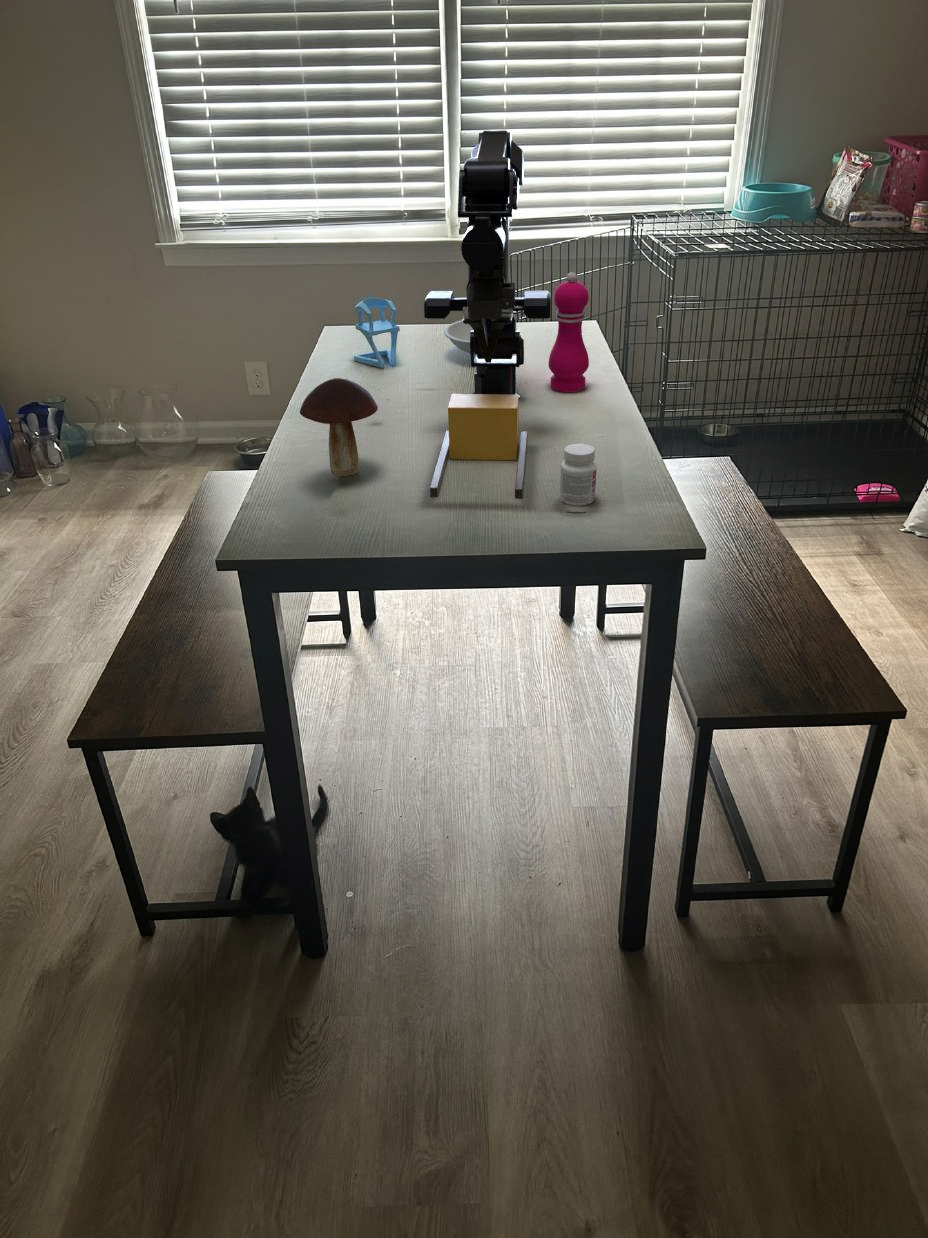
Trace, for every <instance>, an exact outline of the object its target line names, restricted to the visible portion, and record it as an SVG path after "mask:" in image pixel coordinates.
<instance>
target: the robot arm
mask: <svg viewBox="0 0 928 1238" xmlns="http://www.w3.org/2000/svg"><path fill="white" fill-rule="evenodd" d="M463 163H464V164H463V169H459V172H458V191H457V192H458V193H457V218H458V219H460V218H462V219H467V218H468V221H467V228H466V229H467V230H466V232H465V233H464V235H463V238H462V242H461V244H460V246H461V247H460V251H461V255H462V258H463V261H465V263H466V265H467V269H468V270H467V273H468V275H467V276H468V278H467V279H468V281H467V285H466V287H465V288H466V289H465V290H466V297H455V295H454V291H453V290H431V291H430V292H429V293H428V294H427V295H426V297H425V300H424V301H423V315H424V317H423V318H425V319H429V320H430V319H431V320H432V319H433V320H436V319H437V320H441V319H442V320H445V319H446V318H447V317H448V316H449V315H450V314H451V312H462V315H463V317H462V320H463V323H464V324H469V325H470V326H471V327H472V329H473V330H474V331H471V332H470V353H469V354H470V367H471V368H475V370H476V371H475V373H473V378H474V381H473V382H474V383H473V385H474V388H473V389H474V392H471V394H510V395H518V394H517V391H516V390H517V389H516V388H517V385H516V384H517V383H516V382H517V368H520V366H522V365H524V364H525V339H524V338H522V334H521V331H520V330H517V331H516V329H517V321H516V319H515V316H514V312H523V314H524V315H525V316H526V317H527V318H528V319H529V320H546V319H551V312H552V311H551V310H552V295H551V293H550V292H549V291H548V290H525V291H524V297H516V282H509V262H510V261H509V260H510V259H509V258H510V257H509V255H510V218H513V216H514V211H518V201H519V199H520V186H524V175H525V174H524V173H525V172H524V167H525V166H524V165H525V164H524V151H523V149H522V148H521V147H520V146H519V145H518V144H516V143H515V142H514V141H513V140H512V132H511V131H508V130H504V129H503V130H483V131H482V132H479V133H478V143H477V144H476V145H475V146H474V147H473V148H472V150H471V152H470V158H467V159H466V160H465V161H464V162H463ZM476 354H477V355H476ZM521 398H522V397H521V395H519V400H521Z"/></svg>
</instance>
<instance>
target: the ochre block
mask: <svg viewBox="0 0 928 1238" xmlns="http://www.w3.org/2000/svg"><path fill="white" fill-rule="evenodd" d="M450 396H451V397H450V400H449V403H448V407H447V421H448V423H447V424H448V431H449V460H467V461H468V460H469V461H471V460H473V461H476V460H477V461H478V460H479V461H480V460H481V461H489V460H490V461H518V455H519V444H520V440H519V437H520V436H519V433H520V432H519V431H520V429H519V427H520V426H519V422H520V421H519V420H520V419H519V418H520V417H519V416H520V399H519V396H520V394H517V395H510V394H472V393H452V394H451V395H450Z"/></svg>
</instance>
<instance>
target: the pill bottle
mask: <svg viewBox="0 0 928 1238" xmlns="http://www.w3.org/2000/svg"><path fill="white" fill-rule="evenodd" d="M595 450H596V449H595V447H594V446H592V445H590V444H586V443H571V444H569V445H566V446H565V447H564V449H563V451H564V452H563V460H562V462H561V465H560V477H559V478H560V479H559V500H560V501H561V502H562V503H564V504H566V505H570V506H576V507H577V506H578V507H579V506H581V507H582V506H587V505H590V504H592V503H593V502H594V501H595V500H596V484H597V469H598V468H597V467H598V466H597V463H596V462H595V457H596V456H595V455H596V454H595ZM568 513H569V514H578V515H579V514H587V513H588V512H587V511H568Z"/></svg>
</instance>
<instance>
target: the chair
mask: <svg viewBox="0 0 928 1238" xmlns="http://www.w3.org/2000/svg"><path fill="white" fill-rule="evenodd" d="M386 307H388V308H389V309H390V312H391V313H392V314H391V317H390V321H388V320H387V319H386V317H385V308H386ZM354 308H355V310H356V313H357V315H358V323H355V324H354V326H355V330H357V331H359V332H360V333H361V334H362V335H363V336H364V337H365V339H366V341H367V343H368V345H369V346H370V348H371V351H372V352H371V351H370V352H366V353H360V354H356V355H353V361H355V362H358V363H361V364H365V365H370V366H373V367H377V368H380V369H385V361H384V359H383V357H382V356H387V361H388V363H389V365H390V366H393V367H395V366H397V342H398V334H399V332H401V330H400V329H401V328H400V325H397V324H396V314H397V308H396V307H395V305H394V302H393V301H391V300H389V299H386V298H381V297H376V296H375V297H374V296H369V297H367V298H365V299H363V300H361V301H360V302H358V303H357V304H356V305H355V307H354ZM375 308H376V309H380V311H379V312H380V313H379V314H380V315H379V317H380V319H379V320H375V321H374V320H373V318H372V317H373V313H372V311H371V310H370V309H375ZM362 312H363V313H364V315H366V317H367V318H368V322H364V316H363V314H362ZM386 333H390V349H382V350H378V348H377V346H376V345H375V342H374V339H373V337H375V336H379V335H381V334H386ZM374 358H375V359H374Z"/></svg>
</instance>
